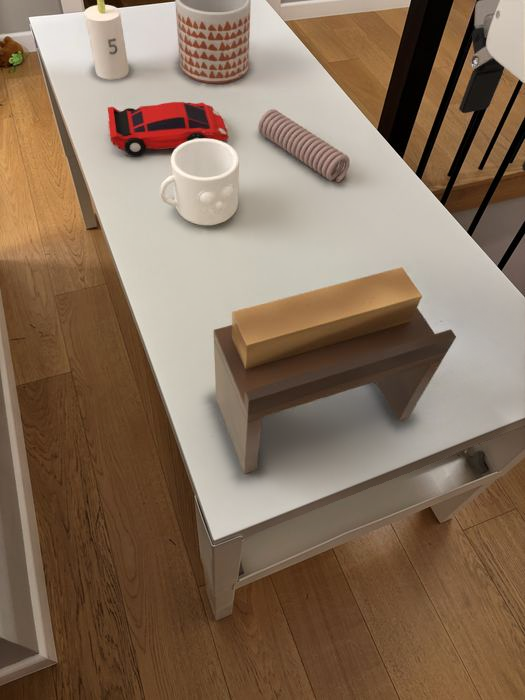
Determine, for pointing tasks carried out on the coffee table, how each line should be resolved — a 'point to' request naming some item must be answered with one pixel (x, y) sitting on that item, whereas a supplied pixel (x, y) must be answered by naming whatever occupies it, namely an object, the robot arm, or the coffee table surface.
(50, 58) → the coffee table surface
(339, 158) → the coil
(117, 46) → the candle
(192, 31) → the planter
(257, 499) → the coffee table surface
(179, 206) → the mug
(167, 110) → the toy car
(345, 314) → the stick
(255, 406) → the shelf
